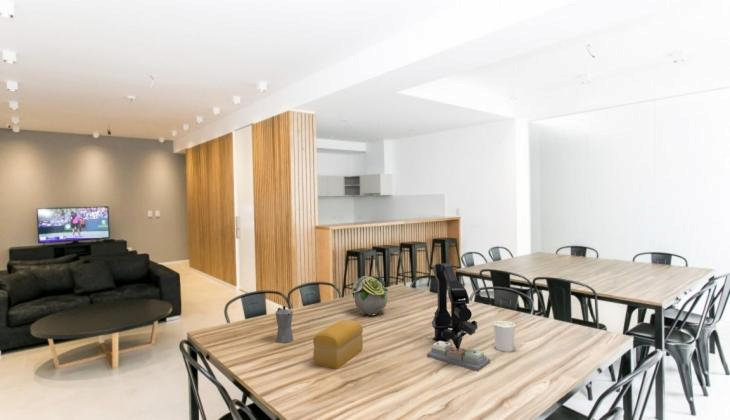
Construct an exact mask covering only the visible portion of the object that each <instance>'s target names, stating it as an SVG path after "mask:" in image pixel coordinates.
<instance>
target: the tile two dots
mask: <svg viewBox="0 0 730 420" xmlns="http://www.w3.org/2000/svg"><path fill="white" fill-rule="evenodd" d="M432 345H433V346H432V347H433V348H434V349H438V350H442V351H447V350H448V349H450V348H451V347H452V343H450V342H446V341H445V342H443V341H437V342H435V343H433V344H432Z"/></svg>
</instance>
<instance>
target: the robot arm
mask: <svg viewBox="0 0 730 420" xmlns="http://www.w3.org/2000/svg"><path fill="white" fill-rule="evenodd" d="M432 272H433V275H434V277H435V279H436V280H437V308H436V310H435V312H434V317H433V318H432V321H431V326H432V328H433V330H434V337H433V338H432V340H433V339H434V341H437V342H438V341H443V342H446V341H448V340H451V341H452V343H453V344H454V347H456V349H459V348H461V344H462V341H463V339H464V337H465V336H466V335H469V336H473V334H475V333H476V331H477V329H478V322H477V321H476V320H472V321H470V320H471V318H472V316H473V314H472V311H471V309H470V308H468V304H469V305H470V302H469V301H470V297H469V294H468V292H467V289H466V288H465V286H464V285H463V284H462V283H461V282H460V281H458V278H457V275H456V274H455V271H454V269H453V264H452V263H451V262H447V263H446V262H444V263H435V264H434V265H433V267H432ZM447 285H448V291H447ZM447 296H448V297H447ZM448 299H449V301H450V313H449V311H448V301H447V300H448Z"/></svg>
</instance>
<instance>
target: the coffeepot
mask: <svg viewBox="0 0 730 420" xmlns="http://www.w3.org/2000/svg"><path fill="white" fill-rule="evenodd" d="M293 311H294V310H293V309H288V308H287V309H286V306H285V305H283V306H282V308H281V307H278V308H277V310H276V311H275V318H276V324H277V331H276V340H275V341H276V343H278V344H287V343H291V342H292V341H294V335H293V330H292V321H293V313H294V312H293Z"/></svg>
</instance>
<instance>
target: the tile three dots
mask: <svg viewBox="0 0 730 420" xmlns="http://www.w3.org/2000/svg"><path fill="white" fill-rule="evenodd" d="M466 351H468V349H465V348H461V347H460V348H459V349H456V347H455V346H453V348H452V349H450V350H449V353H453V354H456V355H460V356H461V355H463V354H465V352H466Z"/></svg>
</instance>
